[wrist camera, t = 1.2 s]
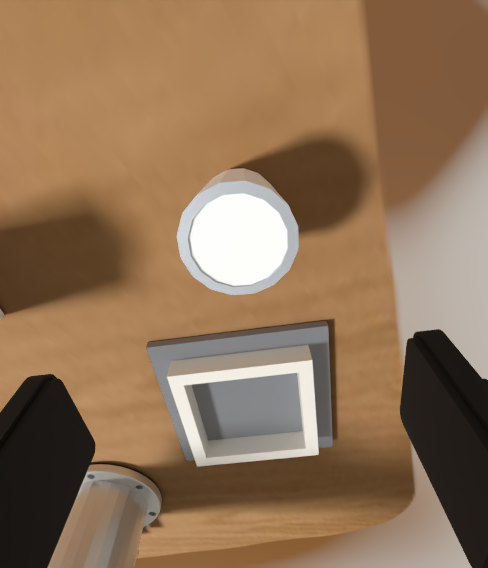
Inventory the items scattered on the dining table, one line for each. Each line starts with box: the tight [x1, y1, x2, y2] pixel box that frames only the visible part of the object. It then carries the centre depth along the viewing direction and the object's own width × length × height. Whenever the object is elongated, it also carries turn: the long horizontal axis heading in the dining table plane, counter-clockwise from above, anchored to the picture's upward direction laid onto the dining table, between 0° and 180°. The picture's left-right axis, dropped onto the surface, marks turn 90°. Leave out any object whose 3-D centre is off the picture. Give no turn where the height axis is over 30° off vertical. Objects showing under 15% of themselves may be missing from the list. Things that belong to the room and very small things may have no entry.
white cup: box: [177, 168, 298, 295], centre depth 22 cm, size 7×7×7 cm
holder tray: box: [146, 321, 333, 467], centre depth 33 cm, size 16×16×3 cm
